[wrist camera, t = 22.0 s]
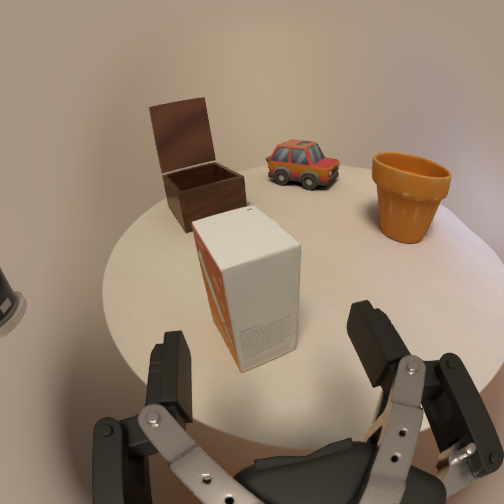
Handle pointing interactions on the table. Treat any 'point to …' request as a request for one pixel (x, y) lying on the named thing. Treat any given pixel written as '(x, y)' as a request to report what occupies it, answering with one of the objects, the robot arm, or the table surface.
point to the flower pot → (408, 194)
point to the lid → (182, 134)
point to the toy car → (302, 164)
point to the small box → (250, 283)
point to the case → (203, 192)
